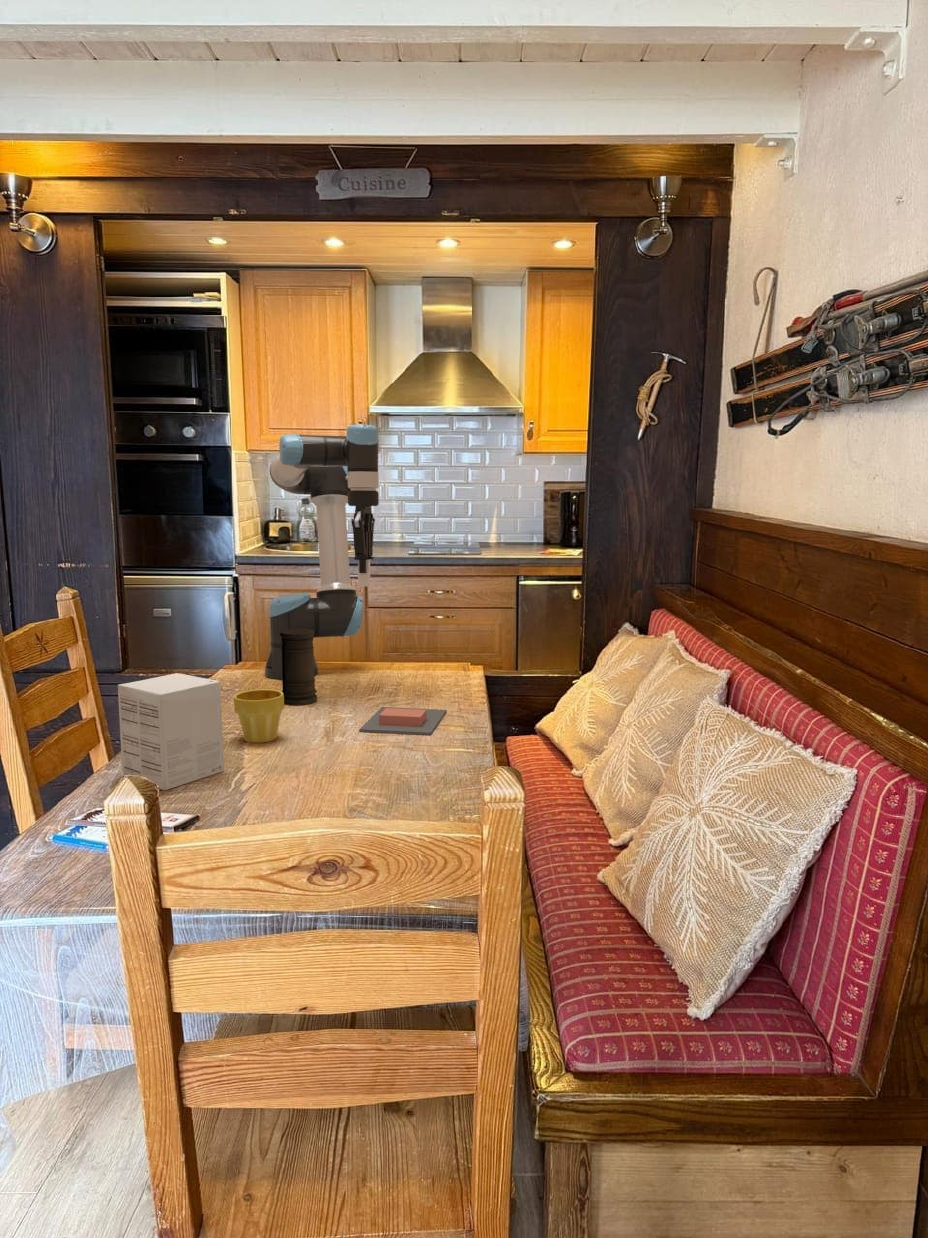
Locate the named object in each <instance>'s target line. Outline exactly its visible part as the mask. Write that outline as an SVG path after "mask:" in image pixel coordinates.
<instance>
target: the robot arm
mask: <svg viewBox="0 0 928 1238" xmlns="http://www.w3.org/2000/svg"><path fill="white" fill-rule="evenodd" d="M379 441H380V440H379V434H378V428H377V427H376V426H375V425H373V424H351V425H348V426H347V428H346V435H318V434H317V435H316V434H315V435H313V434H312V435H311V434H297V433H293V434H283V435H281V437H280V438H279V454H278V455H277V456H276V457H274V459H273V460H272V461H271V463H270V465H269V466H270V467H269V475H270V479H271V481H272V482H273V483H274V484H275V485H276V486H277V487H278V488H280V489H281V490H283V491H285V492H288V493H291V494H294V495H295V494H296V495H305V496H307V495H308V496H309V495H310V502H311V503H312V504H313V505H314V506H315V508H316V520H317V521H316V522H317V539H318V542H317V543H318V557H319V572H320V573H319V574H320V587H319V588H318V589H317V590H316V593H315V594H316V597H312V596H311V594H310V593H308V592H300V593H299V592H298V593H297V592H296V593H289V594H283V595H279V596H276V597H274V598H272V599H271V600H270V602H269V609H268V610H269V613H268V617H269V639H270V641H269V643H270V648H269V652H268V657H267V659H266V663H265V666H264V675H265V677H266V678H268V679H275V680H283V679H282V640H281V639H282V637H281V636H280V633H281V631H284V630H291V629H309V630H313V631H314V636H313V638H331V637H333V638H334V637H335V638H336V637H342V638H344V637H349V636H350V637H351V636H355V635H357V634H358V632H359V631H360V629H361V626H362V622H363V613H364V603H363V597H362V596H360V595H357V591H356V590H357V589H356V588H355V587H354V586H352V585H351V574H350V558H349V542H348V525H347V511H346V505H348V506H349V507H355V509H354V513H353V518H351V522H350V523H351V526H352V534H353V545H354V546H353V549H354V557H353V558H354V561H357V583H358V584H357V586H358V587H371V560H374V558H375V557H374V556H373V552H374V551H373V549H374V533H375V531H374V529H375V522H376V519H375V517H374V513H372V507H377V506H379V503H380V502H379V501H380V499H379V498H380V497H379V496H380V495H379V493H380V492H379V491H378V490H377V489H379V487H380V485H379V483H380V482H379V481H380V480H379ZM318 667H319V665H318V663H317V659H316V657H315V656H314V677H315V676H317V675H318V674H319V668H318Z"/></svg>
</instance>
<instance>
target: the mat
mask: <svg viewBox="0 0 928 1238" xmlns="http://www.w3.org/2000/svg"><path fill="white" fill-rule="evenodd" d="M386 708H394V706H393V707H392V706H391V707H388V706H386V707H385V706H381V707H380V708H379V709H378V710H377V712H375V713H374V714H373V715H372V716H371V717H370V718H368V720H367V721H366V722H365V723H364V724H363V725H362V726H361V727H360V728H359V733H375V734H376V733H377V734H397V735H398V734H399V735H417V736H431V735H432V734H433V733H434V731H435V730H436V728H437V727H438V725H439V724H440V723H441V721H442V719H443V718H444V717H445V715H446V714H447V712H448V711H447V709H440V708H439V709H434V708H413V707H411V708H410V707H395V708H396V709H418V710H426V720H425V722H424V723H423V724H422V725H421V727H416V726H395V725H379V715H380V714H381V713H382V712H383V711H384V710H385V709H386Z"/></svg>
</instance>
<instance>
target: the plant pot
mask: <svg viewBox="0 0 928 1238" xmlns="http://www.w3.org/2000/svg"><path fill="white" fill-rule="evenodd" d="M233 705H234V706H233V707H234V712H235V713H236V714H237V715H238V718H239V723H240V726H241V729H242V734H243V737H244V740H245V742H247V743H251V744H260V743H268V742H272V741H275V740H276V739H277V737H278V734H279V733H278V731H279V725H280V720H281V713H282V711H283V710H284V709H285V704H284V694H283V692H282V690H278V689H271V688H260V689H259V688H258V689H256V688H255V689H250V690H245V691H241V692H238V693H235V695H233Z"/></svg>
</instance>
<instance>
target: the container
mask: <svg viewBox="0 0 928 1238" xmlns="http://www.w3.org/2000/svg"><path fill="white" fill-rule="evenodd" d="M280 636H281V637H282V639H281V640H282V679H281V685H282V689H281V692H283V694H284V705H287V706H305V705H311V704H313V703H315V702H317V700H318V695H317V694H316V693H317V689H316V679H315V676H314V657H315V654H314V648H315V647H314V638H313V636H314V631H313V630H309V629H291V630H284V631H281V633H280Z"/></svg>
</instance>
